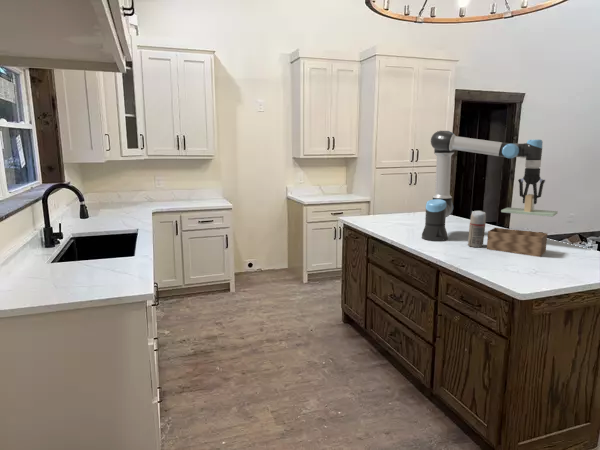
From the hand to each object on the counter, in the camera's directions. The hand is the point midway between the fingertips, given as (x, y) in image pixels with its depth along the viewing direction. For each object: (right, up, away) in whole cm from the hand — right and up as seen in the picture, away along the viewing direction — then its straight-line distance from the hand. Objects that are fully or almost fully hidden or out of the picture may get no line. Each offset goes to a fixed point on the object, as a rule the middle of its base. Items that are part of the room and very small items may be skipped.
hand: (529, 209), depth 234 cm
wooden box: (-14, -23, -11) cm, 29 cm away
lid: (0, -2, 0) cm, 2 cm away
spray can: (-31, -21, -1) cm, 37 cm away
